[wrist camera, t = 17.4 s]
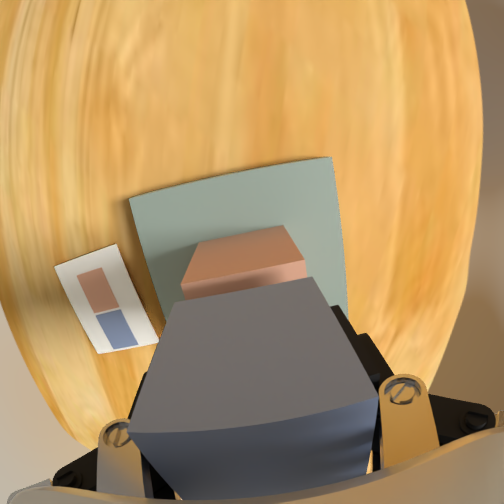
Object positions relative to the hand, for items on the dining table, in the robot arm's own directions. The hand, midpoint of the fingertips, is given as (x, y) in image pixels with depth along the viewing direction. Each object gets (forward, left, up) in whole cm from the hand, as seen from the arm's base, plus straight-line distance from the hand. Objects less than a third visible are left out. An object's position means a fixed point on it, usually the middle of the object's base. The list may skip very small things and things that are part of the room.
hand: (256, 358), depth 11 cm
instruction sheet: (+1, -11, -10) cm, 15 cm away
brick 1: (0, 0, -8) cm, 8 cm away
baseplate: (0, 0, -10) cm, 10 cm away
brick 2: (0, 0, -1) cm, 1 cm away
